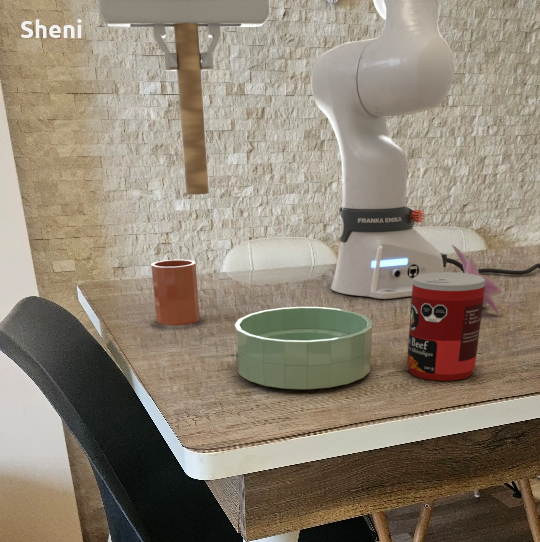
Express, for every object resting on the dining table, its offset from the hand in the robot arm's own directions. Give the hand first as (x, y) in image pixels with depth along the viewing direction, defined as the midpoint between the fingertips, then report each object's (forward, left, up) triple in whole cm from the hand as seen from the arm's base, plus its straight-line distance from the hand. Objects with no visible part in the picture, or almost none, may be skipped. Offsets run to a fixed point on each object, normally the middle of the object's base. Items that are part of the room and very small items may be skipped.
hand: (189, 70), depth 82 cm
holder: (+4, -8, -33) cm, 34 cm away
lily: (-42, -2, -33) cm, 54 cm away
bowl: (-10, +20, -33) cm, 40 cm away
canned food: (-26, +24, -33) cm, 49 cm away
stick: (0, 0, -14) cm, 14 cm away
